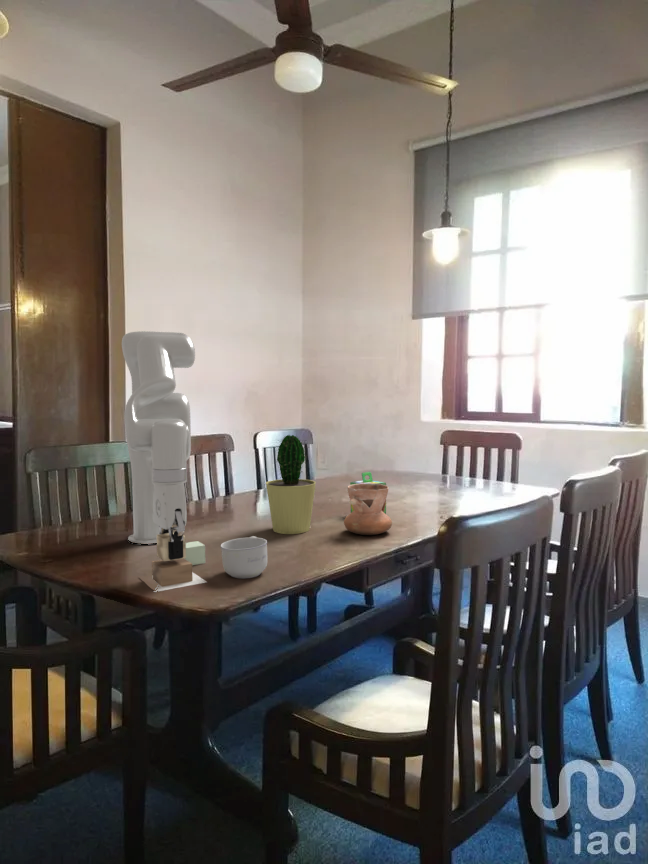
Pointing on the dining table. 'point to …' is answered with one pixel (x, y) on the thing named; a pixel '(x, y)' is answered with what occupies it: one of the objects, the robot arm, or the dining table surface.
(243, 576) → the teacup
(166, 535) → the maple block
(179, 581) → the walnut base brick
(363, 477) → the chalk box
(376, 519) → the ceramic jug
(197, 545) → the sage block
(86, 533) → the dining table surface
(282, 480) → the potted cactus
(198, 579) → the white mat
